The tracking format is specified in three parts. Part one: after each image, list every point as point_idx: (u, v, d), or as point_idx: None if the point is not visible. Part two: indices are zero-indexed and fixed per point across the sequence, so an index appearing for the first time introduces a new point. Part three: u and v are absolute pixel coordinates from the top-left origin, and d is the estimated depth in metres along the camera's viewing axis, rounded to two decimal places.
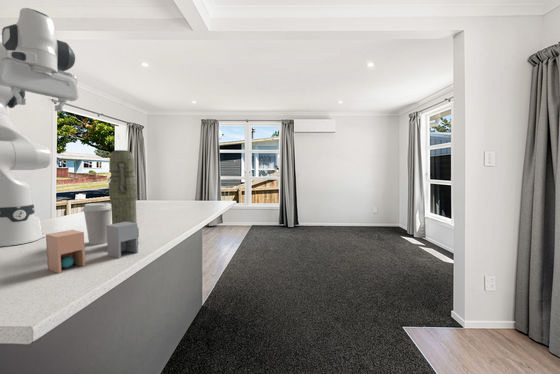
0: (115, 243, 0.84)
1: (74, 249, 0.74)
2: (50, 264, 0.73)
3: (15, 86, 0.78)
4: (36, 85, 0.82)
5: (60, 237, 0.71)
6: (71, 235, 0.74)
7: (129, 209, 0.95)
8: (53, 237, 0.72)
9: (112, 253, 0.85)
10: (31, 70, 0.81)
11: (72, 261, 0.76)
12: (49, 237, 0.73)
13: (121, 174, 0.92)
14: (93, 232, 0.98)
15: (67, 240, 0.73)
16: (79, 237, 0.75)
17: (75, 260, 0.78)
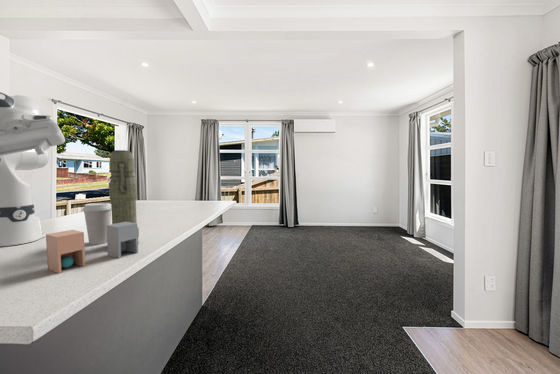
0: (115, 243, 0.84)
1: (74, 249, 0.74)
2: (50, 264, 0.73)
3: (49, 145, 0.77)
4: None
5: (60, 237, 0.71)
6: (71, 235, 0.74)
7: (129, 209, 0.95)
8: (53, 237, 0.72)
9: (112, 253, 0.85)
10: None
11: (72, 261, 0.76)
12: (49, 237, 0.73)
13: (121, 174, 0.92)
14: (93, 232, 0.98)
15: (67, 240, 0.73)
16: (79, 237, 0.75)
17: (75, 260, 0.78)
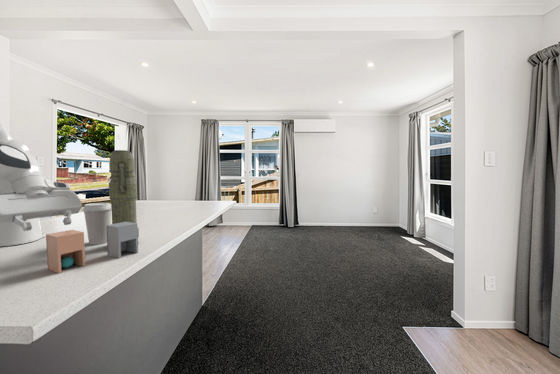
0: (115, 243, 0.84)
1: (74, 249, 0.74)
2: (50, 264, 0.73)
3: None
4: None
5: (60, 237, 0.71)
6: (71, 235, 0.74)
7: (129, 209, 0.95)
8: (53, 237, 0.72)
9: (112, 253, 0.85)
10: None
11: (72, 261, 0.76)
12: (49, 237, 0.73)
13: (121, 174, 0.92)
14: (93, 232, 0.98)
15: (67, 240, 0.73)
16: (79, 237, 0.75)
17: (75, 260, 0.78)
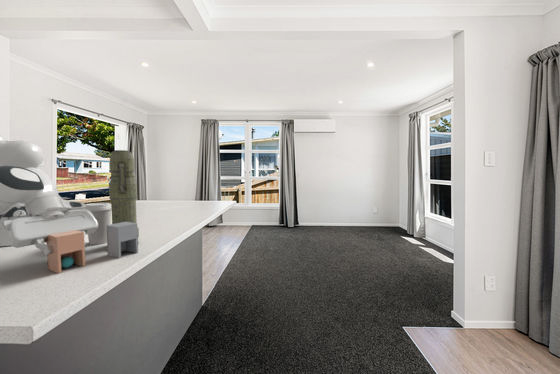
0: (115, 243, 0.84)
1: (74, 248, 0.74)
2: (50, 264, 0.73)
3: None
4: None
5: (60, 237, 0.71)
6: (71, 235, 0.74)
7: (129, 209, 0.95)
8: (53, 237, 0.72)
9: (112, 253, 0.85)
10: None
11: (72, 261, 0.76)
12: (49, 237, 0.73)
13: (121, 174, 0.92)
14: None
15: (67, 240, 0.73)
16: (79, 237, 0.75)
17: (75, 260, 0.78)
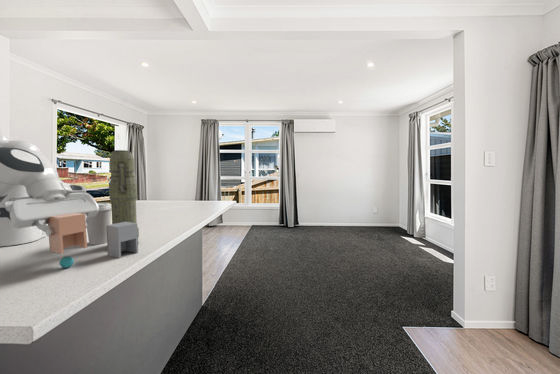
0: (115, 243, 0.84)
1: (75, 230, 0.74)
2: (52, 245, 0.74)
3: None
4: None
5: (62, 218, 0.72)
6: (73, 216, 0.74)
7: (129, 209, 0.95)
8: (55, 218, 0.72)
9: (112, 253, 0.85)
10: None
11: (72, 261, 0.76)
12: (51, 218, 0.73)
13: (121, 174, 0.92)
14: (93, 232, 0.98)
15: (69, 222, 0.73)
16: (80, 219, 0.76)
17: (77, 242, 0.79)
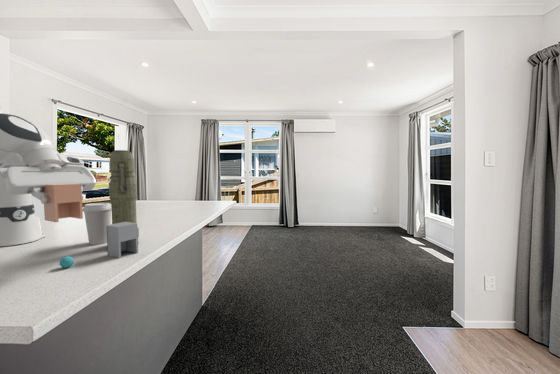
0: (115, 243, 0.84)
1: (71, 199, 0.73)
2: (47, 214, 0.72)
3: None
4: None
5: (57, 186, 0.70)
6: (68, 185, 0.73)
7: (129, 209, 0.95)
8: (50, 186, 0.71)
9: (112, 253, 0.85)
10: None
11: (72, 261, 0.76)
12: (46, 186, 0.72)
13: (121, 174, 0.92)
14: (93, 232, 0.98)
15: (65, 190, 0.72)
16: (76, 188, 0.74)
17: (72, 214, 0.77)
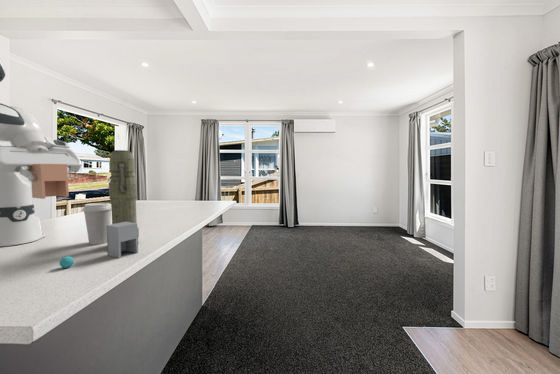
0: (115, 243, 0.84)
1: (57, 178, 0.78)
2: (34, 192, 0.77)
3: (67, 171, 0.87)
4: None
5: (44, 164, 0.76)
6: (54, 165, 0.78)
7: (129, 209, 0.95)
8: (37, 165, 0.76)
9: (112, 253, 0.85)
10: None
11: (72, 261, 0.76)
12: (33, 166, 0.77)
13: (121, 174, 0.92)
14: (93, 232, 0.98)
15: (51, 169, 0.77)
16: (62, 168, 0.80)
17: (59, 192, 0.82)
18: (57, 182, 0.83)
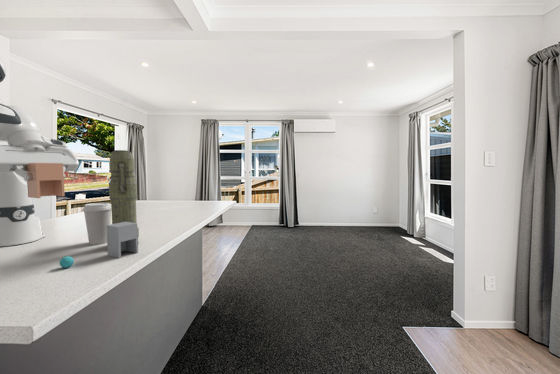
0: (115, 243, 0.84)
1: (53, 177, 0.78)
2: (30, 191, 0.77)
3: None
4: None
5: (39, 164, 0.75)
6: (50, 164, 0.77)
7: (129, 209, 0.95)
8: (32, 164, 0.75)
9: (112, 253, 0.85)
10: None
11: (72, 261, 0.76)
12: (29, 165, 0.76)
13: (121, 174, 0.92)
14: (93, 232, 0.98)
15: (46, 168, 0.76)
16: (58, 167, 0.79)
17: (55, 192, 0.82)
18: (53, 181, 0.82)
